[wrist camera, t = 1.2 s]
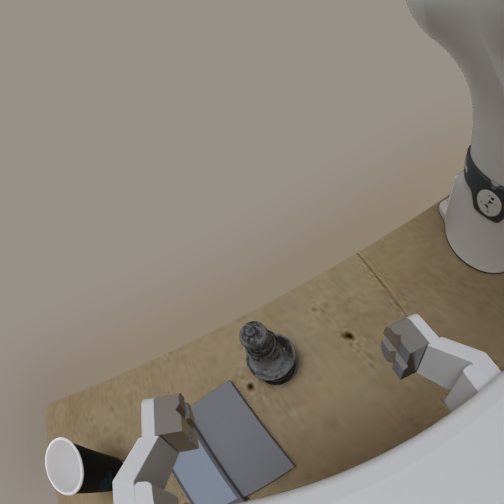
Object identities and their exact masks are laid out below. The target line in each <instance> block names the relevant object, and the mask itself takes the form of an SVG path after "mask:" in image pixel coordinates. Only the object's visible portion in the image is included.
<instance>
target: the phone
mask: <svg viewBox="0 0 504 504" xmlns="http://www.w3.org/2000/svg"><path fill="white" fill-rule="evenodd" d="M193 430H194V431H195V432H196V434H197V438H198V444H199V449H195V450H190V451H184V452H178V453H179V455H178V458H177V460H176V463H175V465H174V467H173V470H172V472H173V474H174V476H175V477H176V479H177V481H178V483H179V484H180V486H181V488H182V489H183V491H184V493H185V494H186V496H187V497H188V499H189V500H190V502H191V504H235V503H240V502H244V501H246V499H245V498H244V496H243V495H242V494H241V492H240V491H239V490H238V488H237V487H236V485H235V484H234V483H233V481H232V480H231V478H230V477H229V476H228V474H227V473H226V471H225V470H224V468H223V467H222V465H221V464H220V462H219V461H218V459H217V458H216V456H215V455H214V453H213V452H212V450H211V449H210V447H209V445H208V444H207V442H206V441H205V439H204V437H203V436H202V434H201V433H200V431H199V429H198V428H197V426H196V424H195V426H194V428H193Z"/></svg>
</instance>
